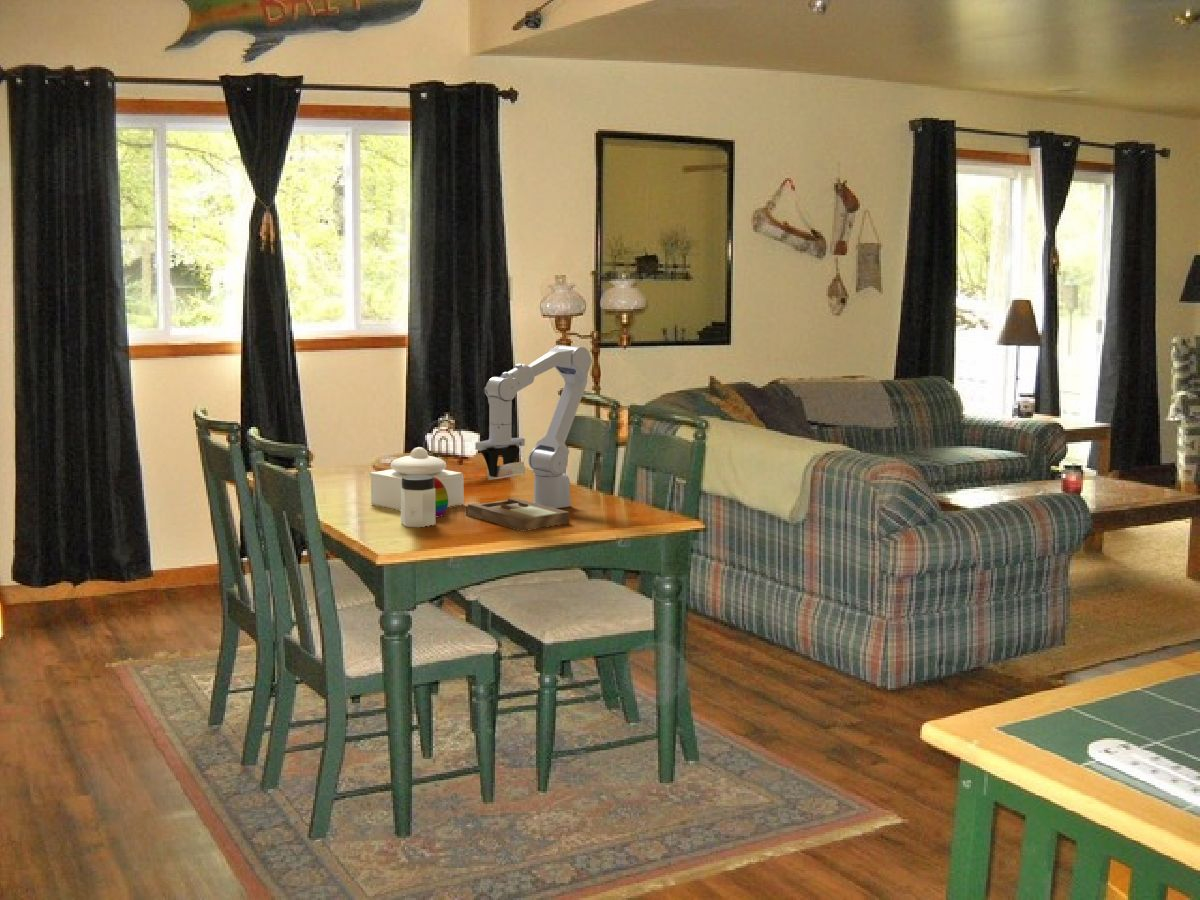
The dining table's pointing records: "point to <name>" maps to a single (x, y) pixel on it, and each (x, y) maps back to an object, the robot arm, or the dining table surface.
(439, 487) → the decorative egg
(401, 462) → the butter dish
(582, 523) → the dining table surface
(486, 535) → the dining table surface
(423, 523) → the jar
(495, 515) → the board
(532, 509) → the pad
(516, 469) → the bar
